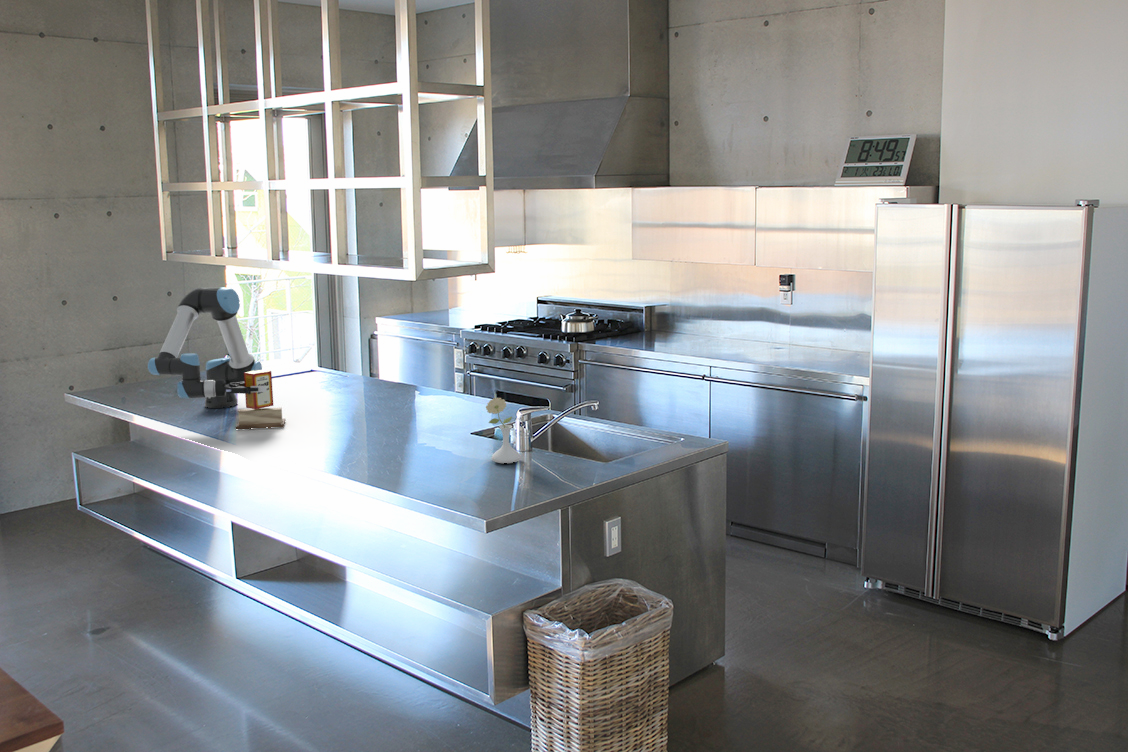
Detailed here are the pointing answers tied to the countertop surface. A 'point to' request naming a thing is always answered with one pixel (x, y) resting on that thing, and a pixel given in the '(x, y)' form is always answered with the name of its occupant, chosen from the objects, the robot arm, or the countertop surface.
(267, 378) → the baking soda box
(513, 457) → the flower in vase
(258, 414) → the ridge stand
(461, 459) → the countertop surface
